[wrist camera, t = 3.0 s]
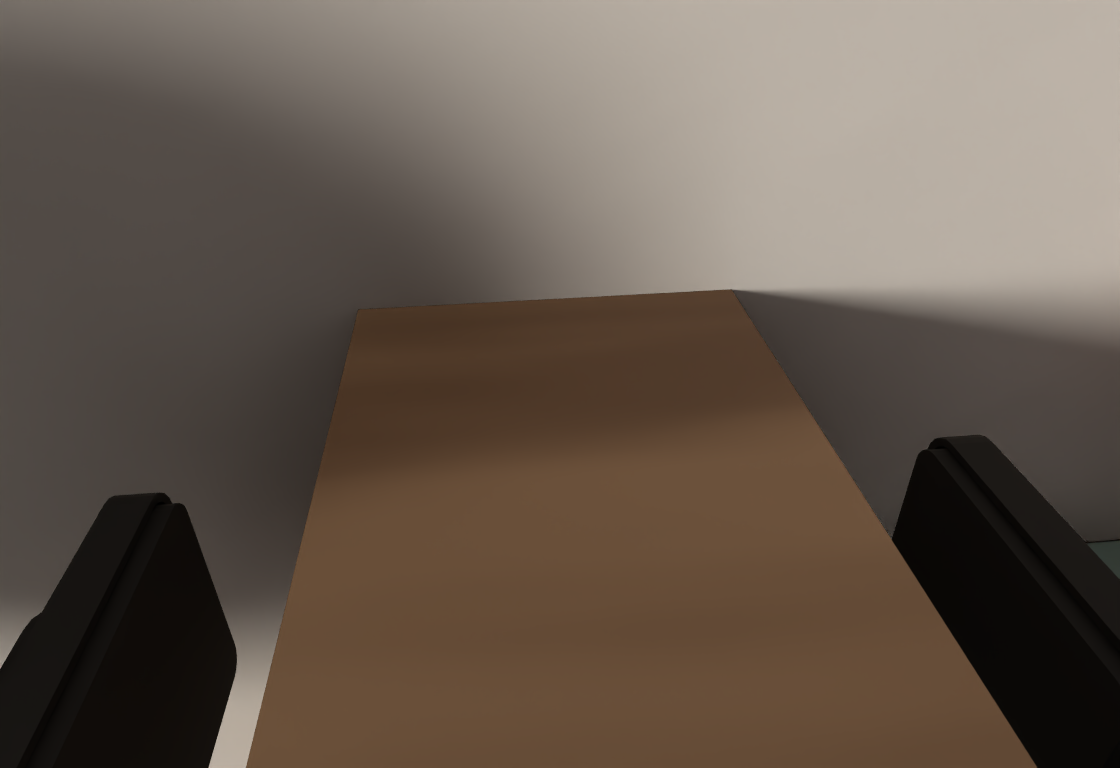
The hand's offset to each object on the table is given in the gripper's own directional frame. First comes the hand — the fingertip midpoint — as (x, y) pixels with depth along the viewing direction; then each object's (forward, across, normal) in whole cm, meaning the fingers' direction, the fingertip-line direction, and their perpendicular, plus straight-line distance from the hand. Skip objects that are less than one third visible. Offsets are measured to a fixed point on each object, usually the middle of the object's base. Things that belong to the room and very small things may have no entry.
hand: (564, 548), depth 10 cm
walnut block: (+2, 0, 0) cm, 2 cm away
